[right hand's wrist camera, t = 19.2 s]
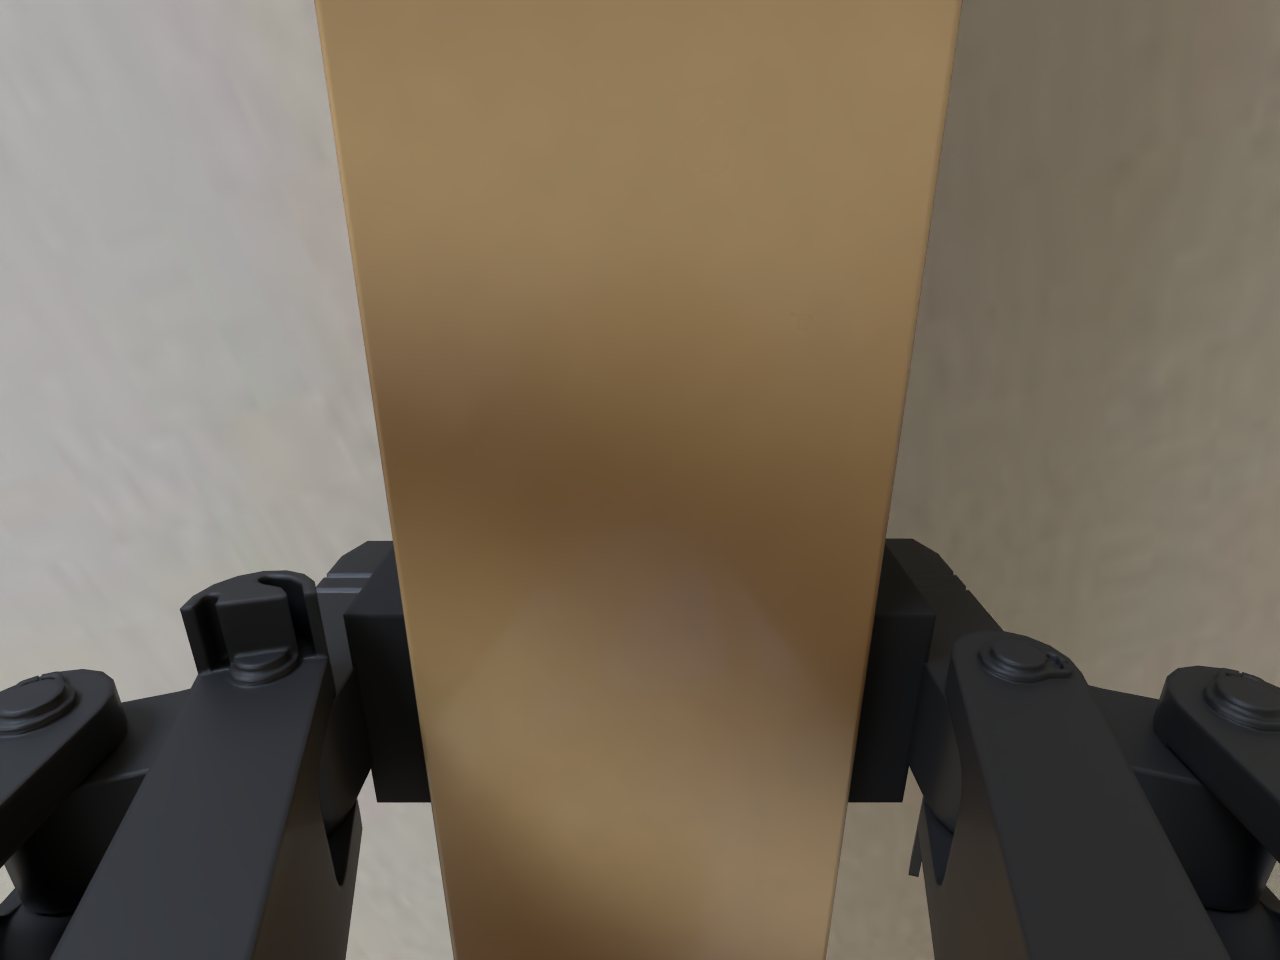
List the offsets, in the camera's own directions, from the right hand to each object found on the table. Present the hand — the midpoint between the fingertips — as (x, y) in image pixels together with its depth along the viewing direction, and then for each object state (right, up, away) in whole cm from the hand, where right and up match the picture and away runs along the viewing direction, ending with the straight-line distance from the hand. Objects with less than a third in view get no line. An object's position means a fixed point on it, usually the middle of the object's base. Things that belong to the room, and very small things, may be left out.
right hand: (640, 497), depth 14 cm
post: (0, +23, -8) cm, 25 cm away
